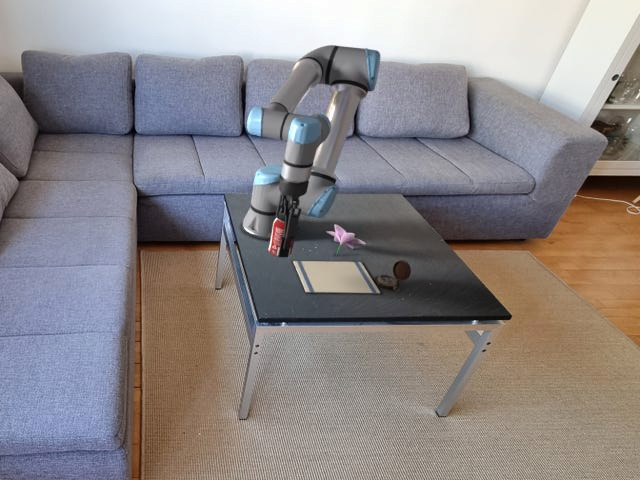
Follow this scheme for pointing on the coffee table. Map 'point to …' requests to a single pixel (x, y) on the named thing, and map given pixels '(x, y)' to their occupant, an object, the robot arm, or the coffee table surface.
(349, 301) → the coffee table surface
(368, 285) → the cloth
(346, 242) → the lily
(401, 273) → the compass
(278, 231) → the soda can
